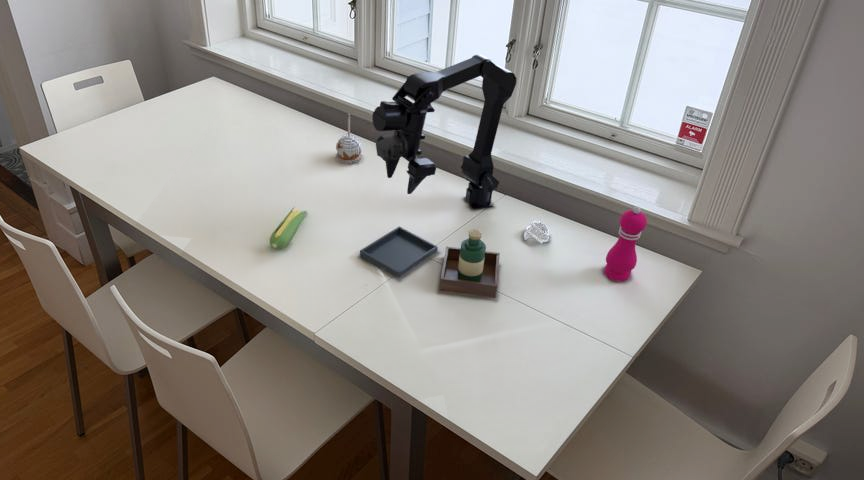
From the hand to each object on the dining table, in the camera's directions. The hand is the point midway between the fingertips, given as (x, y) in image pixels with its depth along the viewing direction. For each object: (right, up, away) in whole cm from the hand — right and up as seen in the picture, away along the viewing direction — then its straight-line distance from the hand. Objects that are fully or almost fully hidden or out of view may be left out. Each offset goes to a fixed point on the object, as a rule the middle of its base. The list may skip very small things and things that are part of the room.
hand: (399, 185), depth 170 cm
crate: (+17, -24, -7) cm, 30 cm away
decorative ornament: (-15, +13, +40) cm, 45 cm away
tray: (0, -18, 0) cm, 18 cm away
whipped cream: (+37, -13, +8) cm, 40 cm away
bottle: (+17, -23, -7) cm, 30 cm away
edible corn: (-29, -12, +7) cm, 32 cm away
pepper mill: (+55, -23, -3) cm, 59 cm away
